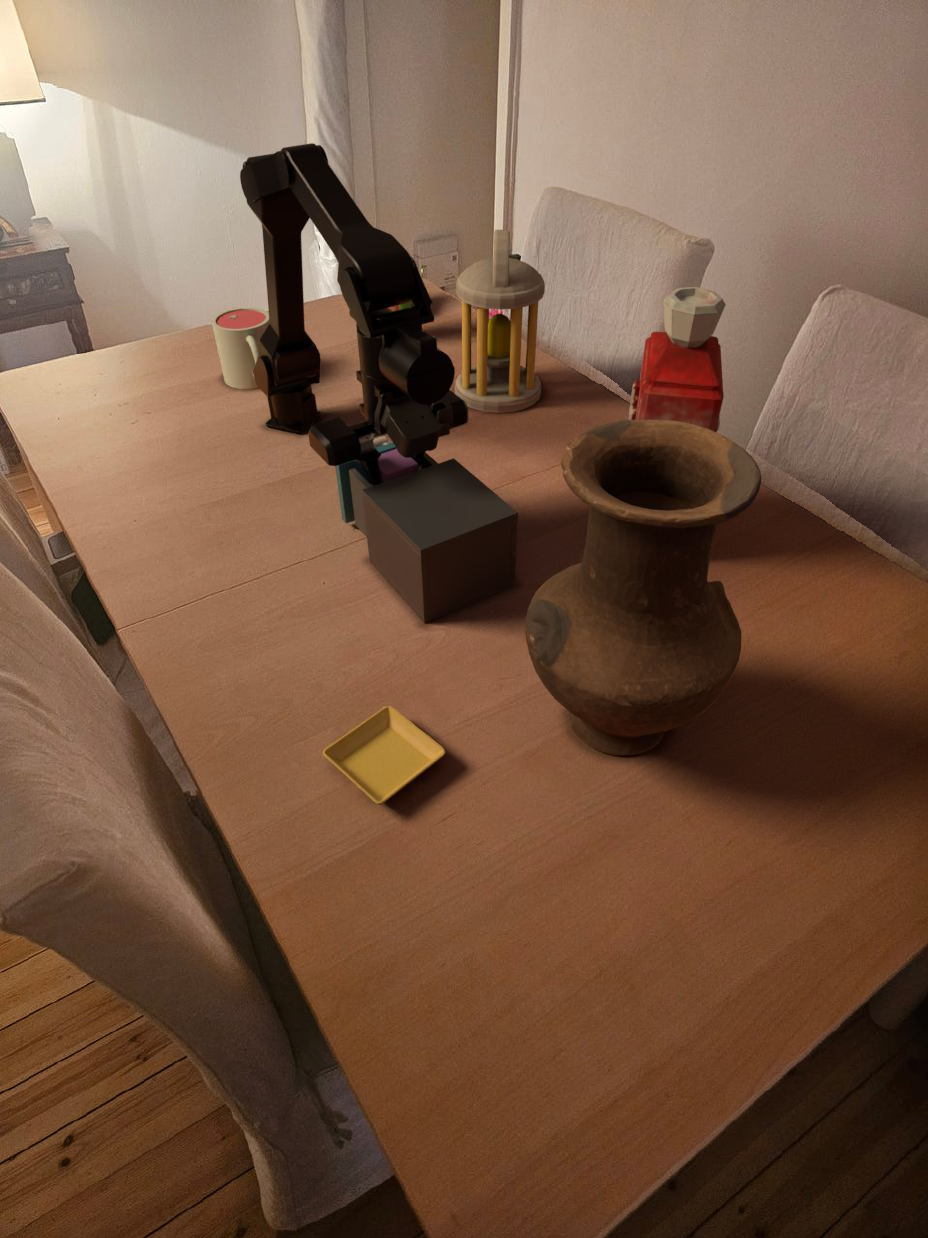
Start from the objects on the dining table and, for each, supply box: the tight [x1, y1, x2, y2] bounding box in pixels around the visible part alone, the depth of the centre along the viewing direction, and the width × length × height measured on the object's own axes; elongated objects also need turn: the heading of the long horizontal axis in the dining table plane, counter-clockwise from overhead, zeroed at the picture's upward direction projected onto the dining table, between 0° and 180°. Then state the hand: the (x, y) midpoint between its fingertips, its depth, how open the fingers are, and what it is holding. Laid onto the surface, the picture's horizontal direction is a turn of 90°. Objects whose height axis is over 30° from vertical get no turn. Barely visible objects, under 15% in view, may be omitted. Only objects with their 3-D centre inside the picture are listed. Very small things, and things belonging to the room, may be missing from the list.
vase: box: [524, 419, 762, 756], centre depth 73 cm, size 19×19×30 cm
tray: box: [334, 435, 439, 538], centre depth 104 cm, size 17×11×9 cm
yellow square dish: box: [322, 705, 447, 805], centre depth 78 cm, size 9×9×2 cm
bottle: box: [627, 286, 727, 433], centre depth 97 cm, size 14×10×30 cm
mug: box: [211, 306, 269, 390], centre depth 134 cm, size 14×9×10 cm
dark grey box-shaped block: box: [362, 458, 519, 624], centre depth 97 cm, size 14×13×11 cm
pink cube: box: [371, 449, 418, 486], centre depth 102 cm, size 4×4×4 cm
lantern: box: [454, 229, 546, 414], centre depth 126 cm, size 14×14×25 cm
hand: (394, 484), depth 103 cm, fingers closed on pink cube, 4 cm apart
